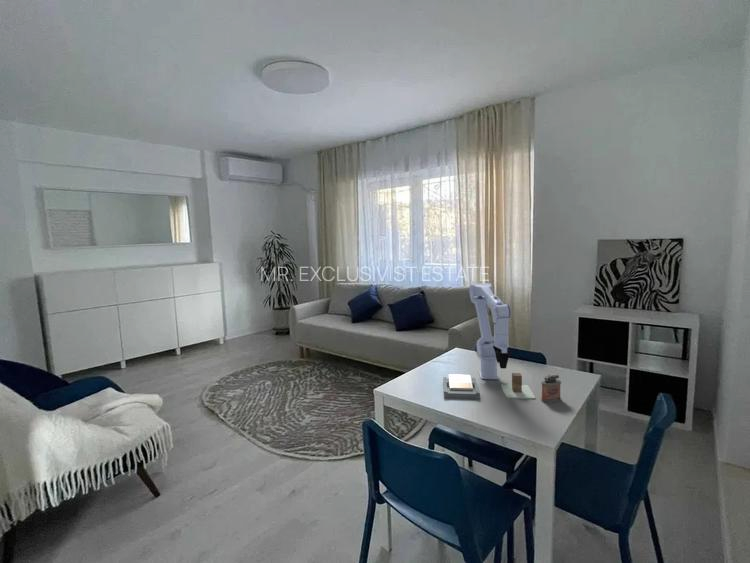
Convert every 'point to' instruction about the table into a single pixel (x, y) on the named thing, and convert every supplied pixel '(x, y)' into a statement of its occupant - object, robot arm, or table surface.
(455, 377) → the rocker switch
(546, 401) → the lighter
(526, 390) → the mat
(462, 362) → the table surface
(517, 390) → the wooden brick
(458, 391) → the switch panel
